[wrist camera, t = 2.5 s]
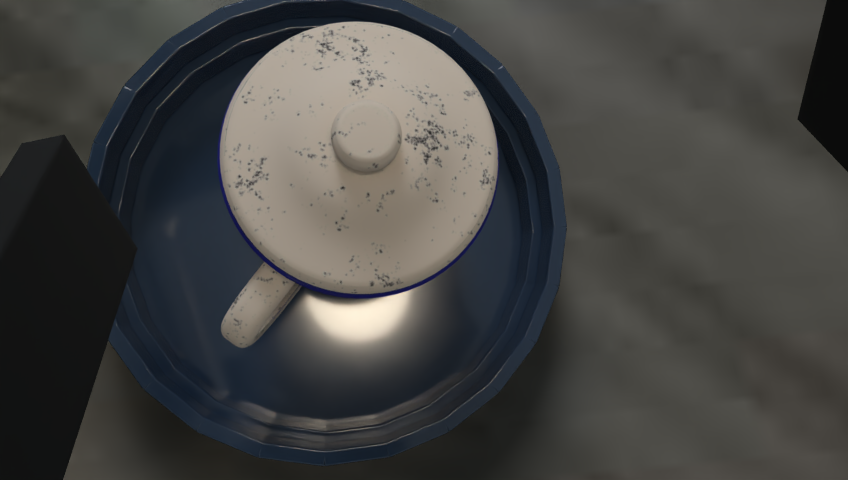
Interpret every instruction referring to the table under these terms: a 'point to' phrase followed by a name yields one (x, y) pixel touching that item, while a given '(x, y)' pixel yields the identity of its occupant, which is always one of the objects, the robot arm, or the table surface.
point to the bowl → (308, 310)
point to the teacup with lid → (352, 168)
